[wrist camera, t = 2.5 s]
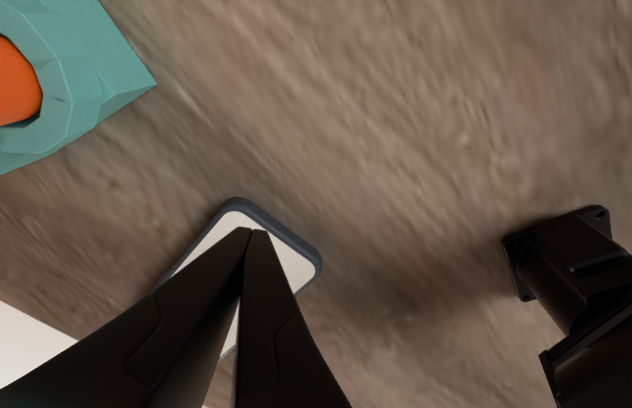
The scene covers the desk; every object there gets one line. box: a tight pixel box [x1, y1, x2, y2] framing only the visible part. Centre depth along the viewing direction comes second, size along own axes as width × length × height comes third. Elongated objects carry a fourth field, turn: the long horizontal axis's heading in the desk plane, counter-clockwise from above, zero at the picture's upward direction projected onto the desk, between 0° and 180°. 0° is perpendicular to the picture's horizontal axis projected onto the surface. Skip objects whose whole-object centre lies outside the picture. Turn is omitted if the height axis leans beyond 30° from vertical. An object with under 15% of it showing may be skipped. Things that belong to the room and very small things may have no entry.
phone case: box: [150, 198, 322, 361], centre depth 25 cm, size 9×2×16 cm
